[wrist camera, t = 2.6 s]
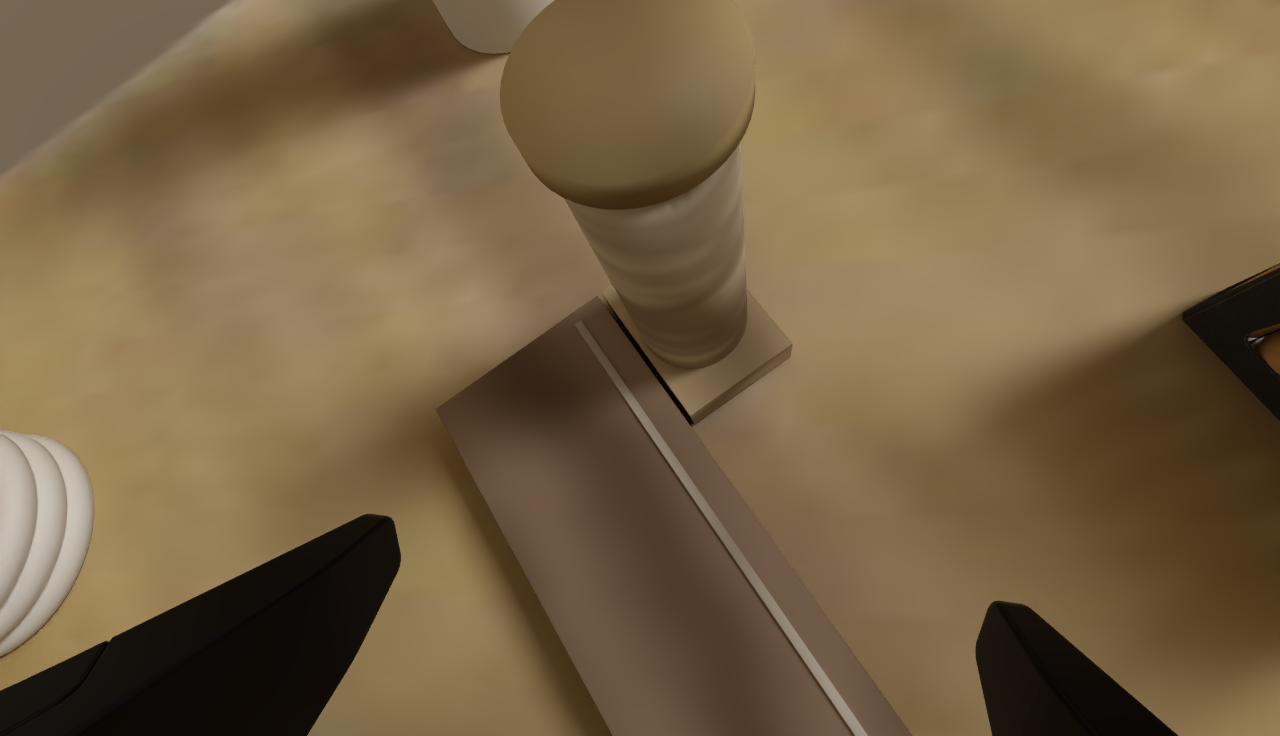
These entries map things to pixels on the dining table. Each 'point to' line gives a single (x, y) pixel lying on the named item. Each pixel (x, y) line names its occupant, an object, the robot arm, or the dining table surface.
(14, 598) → the coaster
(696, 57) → the beige round-topped column
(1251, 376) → the ammunition clip
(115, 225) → the dining table surface
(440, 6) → the cylindrical container
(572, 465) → the walnut plank
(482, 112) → the dining table surface
